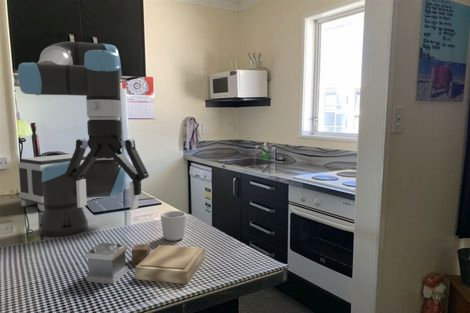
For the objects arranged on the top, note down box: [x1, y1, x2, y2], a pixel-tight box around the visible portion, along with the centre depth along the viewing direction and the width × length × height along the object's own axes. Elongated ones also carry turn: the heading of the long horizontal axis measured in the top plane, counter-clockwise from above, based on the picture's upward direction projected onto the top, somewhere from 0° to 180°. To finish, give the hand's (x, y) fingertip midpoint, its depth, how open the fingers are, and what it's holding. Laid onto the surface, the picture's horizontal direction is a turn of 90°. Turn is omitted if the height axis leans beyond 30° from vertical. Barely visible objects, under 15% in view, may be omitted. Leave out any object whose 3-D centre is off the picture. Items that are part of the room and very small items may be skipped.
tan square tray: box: [134, 244, 206, 285], centre depth 90 cm, size 13×15×3 cm
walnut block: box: [131, 243, 151, 265], centre depth 95 cm, size 4×4×4 cm
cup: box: [160, 210, 187, 241], centre depth 114 cm, size 11×8×8 cm
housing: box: [84, 242, 129, 285], centre depth 86 cm, size 7×7×7 cm
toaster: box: [17, 153, 100, 212], centre depth 162 cm, size 18×34×21 cm, turn 147°
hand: (108, 207), depth 85 cm, fingers open, 13 cm apart
